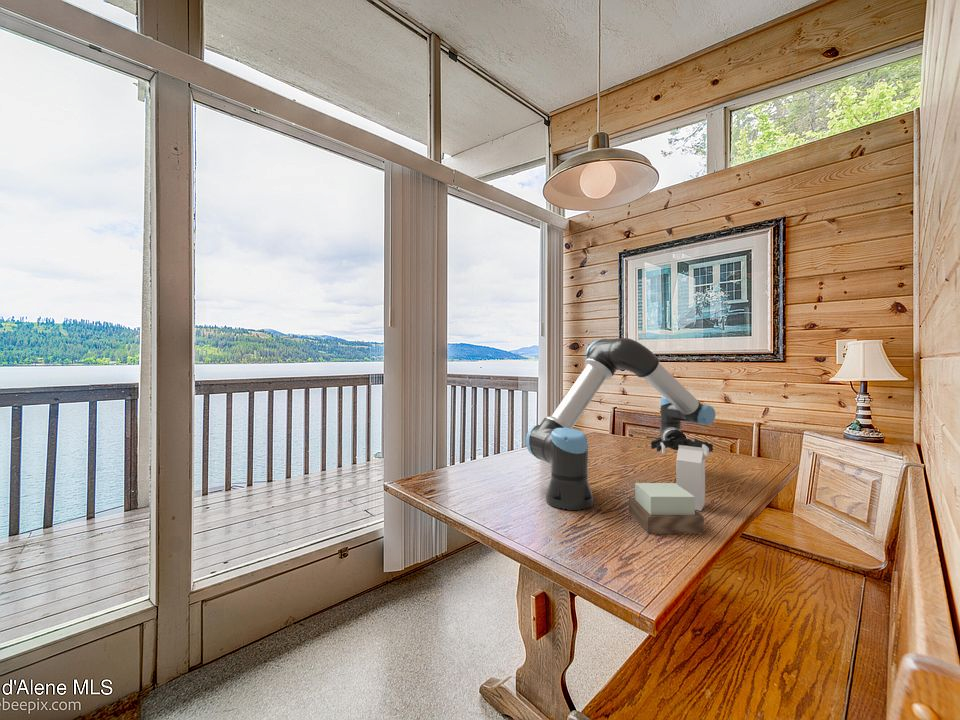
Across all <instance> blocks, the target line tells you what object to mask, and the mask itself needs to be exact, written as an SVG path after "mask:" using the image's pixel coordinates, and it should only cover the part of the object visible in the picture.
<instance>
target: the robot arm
mask: <svg viewBox="0 0 960 720" xmlns="http://www.w3.org/2000/svg"><path fill="white" fill-rule="evenodd" d="M617 371H628V372H630V373H633V374H634V375H635V376H637V377H638V378H640V379H641V378H642V379H644V380H645V381H646V382H648V384H649V385H650V386H652V388H654V389H655V390H656V391H657V392H658V393H659V394H661V395H662V396H661V397H660V405H659V406H660V428H659V437H657V438H656V439H654V440H652V441H651V440H650V448H651V449H652V450H655V449H656V452H661V453H662V455H666V448H669V449H671V450H674V451H678V449H679V445H683V446H692V447H700V448H703V452H704V456H705V457H710V452H714V447H713V446H714V444H713V443H710V442H707V441H703V440H700V439H698V438H693V440H692V439H690V438H687V436H686V434H685V433H684V432H683V431H682V428H681V427H682V426H681V425H682V424H681V423H682V422H687V423H691V424H692V423H693V424H697V425H704V426H710V425H711V424H713V423H714V421H715V418H716V410H715V408H714V407H713V406H712V405H708V404H703V403H701V402H700V401H699V400H698V399H697V398H696V397H695V396H694V395H693V394H692V393H691V392H690V391H689V390H688V389H687V388H686V387H684V386H683V385H682V384H681V382H679V380H677V379H676V377H674V376H673V375H672V374H671V373H670V372H669V371H668V370H667V369H666V368H665V367H664V366H663V365H662V364H661V363H660V359H659V357H658V356H656V354H654V352H652V350H650V349H649V348H647V347H646V346H645V345H643V344H641V342H638V341H637V340H635V339H632V338H627V337H620V338H600V339H597V340H595V341H593V342H591V343H590V344H589V345H588V347H587V349H586V351H585V360H584V368H583V370H582V371H581V372H580V374H579V376H578V377H577V378H576V380H575V382H574V383H573V385H572V386H571V388H570V389H569V390H568V391H567V393H566V394H565V396H563V399H562V400H561V401H560V402H559V405H558V406H557V407H556V409H555V410H554V411H553V413H552V414H551V415H550V416H545V417H544V418H543V419H542V421H541V422H540V424H536V425H534V426H532V427H531V428H529V430H528V432H527V433H526V437H525V444H526V449H527V451H528V452H529V454H531V455H532V456H533V457H535V458H536V459H538V460H541V461H543V462H545V463H546V462H547V463H548V464H550V468H551V469H550V474H551V477H550V480H549V484H548V487H547V489H546V493H545V502H546V501H547V502H546V503H547V504H548V503H549V504H550V505H549V504H548V505H549V506H551V505H552V506H551V507H553V506H554V508H556V507H558V508H557V509H560V508H562V509H561V510H565V509H567V510H566V511H581V509H583V510H585V509H586V508H587V509H590V508H591V507H593V505H594V495H593V493H592V489H591V487H590V484H589V481H588V480H589V479H588V469H589V468H588V463H589V461H588V460H589V459H588V458H589V455H588V454H589V452H588V451H589V449H588V448H589V443H588V438H587V435H586V434H585V433H584V432H583V431H582V430H578V429H577V428H574V427H575V425H576V423H577V422H578V420H579V419H580V417H581V416H582V414H583V413H584V411H585V410H586V409H587V407H588V406H589V404H590V402H592V400H593V398H594V397H595V395H597V393H598V391H599V390H600V388H601V386H602V385H603V383H604V382H605V381H606V380H611V379H612V377H613V376H614V374H615V373H616V372H617ZM589 507H590V508H589Z"/></svg>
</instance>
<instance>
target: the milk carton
mask: <svg viewBox="0 0 960 720" xmlns="http://www.w3.org/2000/svg"><path fill="white" fill-rule="evenodd" d="M675 466H676V467H675V468H676V469H675V471H676V472H675V478H676V480H675V483H676V484H677V485H678V486H680V487H681V488H683V489H684V490H686V491H687V492H689V493H690V494H692V495H693V496H694V497H695V511H699V512H702V510H703V509H704V507H705V505H706V455H705V454H704V452H703V448H700V447H692V446H683V445H679V449H678V450H677V453H676V459H675Z"/></svg>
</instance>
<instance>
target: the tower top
mask: <svg viewBox="0 0 960 720" xmlns="http://www.w3.org/2000/svg"><path fill="white" fill-rule="evenodd" d="M634 498H635V500H636V501H637V502H638V503H639V504H640V505H641V506H642V507H643V508H644V509H645V510H646V511H647V512H648V513H649V514H650V515H695V511H696V510H695V497H694V496H693V495H692V494H690V493H689V492H687V491H686V490H684V489H683V488H681V487H680V486H678V485H677V484H676V482H634Z"/></svg>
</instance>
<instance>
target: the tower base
mask: <svg viewBox="0 0 960 720" xmlns="http://www.w3.org/2000/svg"><path fill="white" fill-rule="evenodd" d="M628 513H629V514H630V515H631V517H632V518H633V519H635V520H634V521H636V522H637V523H638V524H639V526H640V527H642V529H643V530H644V531H645V532H646V533H647V534H670V535H672V534H674V535H675V534H677V533H704V534H705V531H704V530H705V517H704V516H703V515H702V514H700V513H699V512H697V510H695V515H650V514H649V513H648V512H647V511H646V510H645V509H644V508H643V507H642V506H641V505H640V504H639V503H638V502H637V501H636V500H635V497H628Z"/></svg>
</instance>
